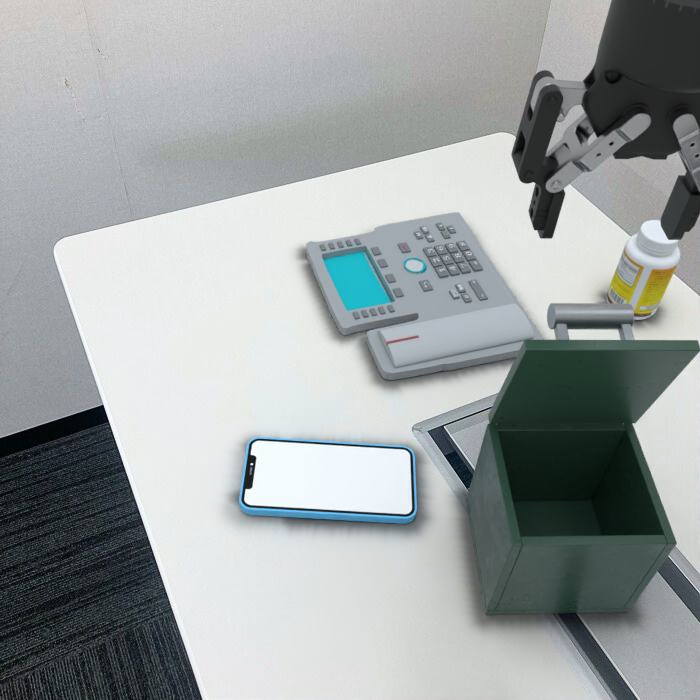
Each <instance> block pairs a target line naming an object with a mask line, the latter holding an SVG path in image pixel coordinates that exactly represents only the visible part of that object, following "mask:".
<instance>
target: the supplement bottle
mask: <svg viewBox="0 0 700 700" xmlns="http://www.w3.org/2000/svg"><path fill="white" fill-rule="evenodd" d="M679 241H680V240H668V238H667V237H666V235H665V233H664V231H663V229H662V227H661V219H660V220H659V219H650V220H646V221H644V222H643V223H641V226H640V227H639V230H638V232H637V233H635V234H633V235H631V236H629V238H628V239H627V240H626V242H625V245H624V247H623V250H622V252H621V254H620V257H619V260H618V262H617V266H616V268H615V270H614V271H615V272H614V274H613V276H612V279H611V282H610V285H609V287H608V289H607V292H606V303H607V304H631V305H632V307H633V310H634V321H636V320H638V321H639V320H641V321H642V320H646V319H648V318H651V317H653V316H654V314H656V312H657V311H658V309H659V306H660V305H661V302H662V299H663V297H664V295H665V293H666V290H667V289H668V286H669V284H670V282H671V279H672V278H673V275H674V273H675V271H676V269H677V266H678V264H679V262H680V259H681V250H680V248H679V246H678V244H679Z"/></svg>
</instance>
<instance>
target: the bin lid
mask: <svg viewBox="0 0 700 700" xmlns="http://www.w3.org/2000/svg"><path fill="white" fill-rule="evenodd" d="M547 307H548V308H547V312H546V323H547V326H548V328H549V329H550V330H553V332H554V338H555V339H544V340H524V342H523V344H522V346H521V348H520V350H519V352H518V354H517V356H516V357H514V361H513V363H512V365H511V366H510V369H509V371H508V373H507V374H506V377H505V379H504V382H503V383H502V385H501V388H500V390H499V391H498V393H497V396H496V398H495V399H494V401H493V404H492V406H491V408H490V410H489V412H488V414H487V416H488V417H487V418H488V424H630V423H632V424H636V423H638V421H639V420H640V419H641V418H642V417H643V416H644V415H645V414H646V412H647V411H648V410H649V409H650V408H651V407H652V405H654V403H655V402H656V401H657V400H659V398H660V397H661V395H663V393H665V391H666V390H667V389H668V388H669V387H670V386H671V384H673V382H674V381H676V379H677V378H678V377H679V376H680V375H681V373H682V372H683V371H684V370H685V369H686V368H687V367H688V365H690V363H691V362H692V361H693V360H694V358H696V356H697V355H698V354H699V353H700V343H699V340H698V339H635V335H634V332H633V325H634V322H635V320H634V310H633V307H632V305H631V304H608V303H598V302H597V303H584V302H583V303H581V302H579V303H577V302H573V303H571V302H567V303H566V302H564V303H563V302H558V303H557V302H551V303H549V304H548V306H547ZM569 330H589V331H590V330H593V331H594V330H595V331H596V330H597V331H599V330H601V331H603V330H604V331H605V330H615V331H616V330H617V331H618V335H619V339H570V335H569Z"/></svg>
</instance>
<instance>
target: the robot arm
mask: <svg viewBox="0 0 700 700" xmlns="http://www.w3.org/2000/svg"><path fill="white" fill-rule="evenodd" d="M529 87H530V88H529V91H528V95H527V98H526V101H525V105H524V109H523V112H522V115H521V119H520V122H519V126H518V129H517V133H516V136H515V140H514V143H513V147H512V151H511V154H510V155H511V159H512V162H513V165H514V167H515V170H516V171H515V172H516V173H517V176H518V177H517V178H518V179H519V181H520V182H521V183H522V184H527V185H528V184H529V185H530V184H532V183H534V186H533V187H534V188H533V191H532V194H531V195H532V196H531V198H530V203H529V207H528V216H529V220H530V222H531V225H532V228H533V230H534V231H537V234H538V236H539V239H542V240H543V239H547V240H551V239H553V237H554V234H555V231H556V228H557V224H558V221H559V218H560V214H561V211H562V207H563V204H564V200H565V197H566V191H565V189H566V187H568V186H569V185H570V184H571V183H573V182H574V181H575V180H576V179H577V178H578V177H580V176H581V175H582V174H583V173H590V172H593V171H595V169H597V168H598V167H599V166H600V165H601V164H603V163H604V162H605V161H607V160H608V159H609V158H610V157H611V156H613V159H614V160H630V159H635V158H640V157H642V158H643V157H644V158H647V159H650V160H659V161H661V160H663V161H665V160H667V159H668V156H671V155H673V154H676V153H678V157H679V159H680V161H681V163H682V166H683V167H684V170H685V171H686V172H685V173H684V174H679V175H677V178H676V180H675V183H674V186H673V188H672V189H671V193H670V195H669V197H668V199H667V202H666V204H665V207H664V209H663V212H662V215H661V217H660V221H661V227H662V229H663V231H664V233H665V235H666V237H667V238H668V240H679V241H681V240H682V239H683V238H684V236H685V233H689V232H691V230H692V229H694V227H695V226H696V224H697V221H698V218H699V217H700V0H611V1H610V4H609V7H608V11H607V15H606V18H605V21H604V26H603V29H602V32H601V36H600V40H599V43H598V48H597V53H596V58H595V62H594V64H593V67H592V69H591V70H590V72H589V73H588V74H587V75H586V77H585V78H584V79H583V80H582V81H577V80H565V79H555V76H554V74H553V73H552V72H551V71H549V70H546V69H544V70H543V69H542V70H539V71H538V72H537V73H535V74H534V75H533V77H532V80H531V84H530V86H529ZM579 105H581V108H582V110H583V114H581V115H580V116H579V117H577V119H575V120H574V121H573V122H572V123H571V124H570V125H569V126H568V127H566V129H565V130H564V131H563V134H562V137H561V139H560V140H559V141H558V142H557V143H555V144H554V145H553V146H552V147H551V148H550V149H549V150H548V148H549V145H550V144H551V143H550V142H551V140H552V137H553V133H554V130H555V127H556V124H557V123H562V122H564V121H565V119H566V117H567V116H568V115H569V114H568V113H569V112H570V110H571V109H573V108H574V107H576V106H579ZM593 134H595V137H596V139H595V140H594V141H592V142H591V143H590V144H589V143H588V142H589V140H590V137H591V136H592V135H593Z"/></svg>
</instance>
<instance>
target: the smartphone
mask: <svg viewBox="0 0 700 700" xmlns="http://www.w3.org/2000/svg"><path fill="white" fill-rule="evenodd" d="M242 470H243V471H242V476H241V484H240V490H239V497H238V503H239V508H240V510H241V511H242V512H243V513H244V514H246V515H251V516H265V517H283V518H284V517H285V518H297V519H298V518H299V519H300V518H301V519H316V520H335V521H352V522H367V523H384V524H385V523H387V524H401V525H403V524H409V523H412V521H414V520H415V518H416V515H417V510H418V501H417V498H418V497H417V476H416V474H417V473H416V455H415V452H414V450H412V449H411V448H410V447H408V446H405V445H396V444H381V443H363V442H349V441H348V442H347V441H334V440H333V441H332V440H315V439H300V438H299V439H297V438H284V437H283V438H282V437H267V436H266V437H265V436H255V437H253V438H251V439H250V440H248V442H247V444H246V450H245V457H244V465H243V469H242Z"/></svg>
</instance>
